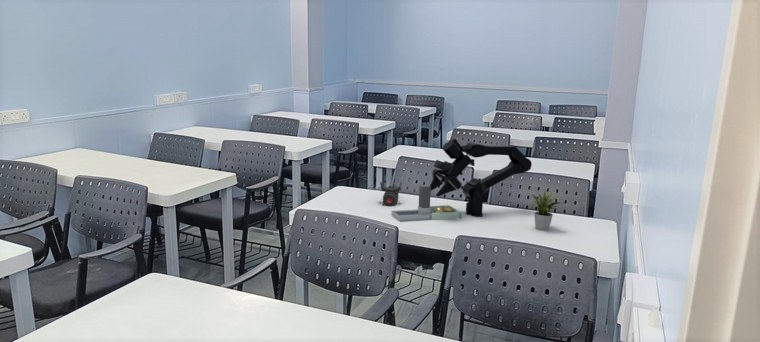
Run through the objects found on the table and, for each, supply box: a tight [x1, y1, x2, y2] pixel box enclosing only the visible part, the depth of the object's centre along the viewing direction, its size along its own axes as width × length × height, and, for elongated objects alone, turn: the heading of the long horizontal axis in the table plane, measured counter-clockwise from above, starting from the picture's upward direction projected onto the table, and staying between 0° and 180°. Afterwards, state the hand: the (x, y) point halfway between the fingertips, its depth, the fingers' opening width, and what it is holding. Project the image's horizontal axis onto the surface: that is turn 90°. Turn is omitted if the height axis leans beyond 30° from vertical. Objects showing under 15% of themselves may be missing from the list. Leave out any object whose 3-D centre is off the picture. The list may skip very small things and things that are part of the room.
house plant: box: [527, 188, 563, 231], centre depth 213 cm, size 14×14×16 cm
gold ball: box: [443, 205, 453, 212], centre depth 229 cm, size 4×4×4 cm
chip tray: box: [430, 204, 462, 221], centre depth 228 cm, size 13×12×3 cm
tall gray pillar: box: [417, 184, 432, 214], centre depth 225 cm, size 4×4×13 cm
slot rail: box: [390, 208, 458, 223], centre depth 226 cm, size 27×12×2 cm, turn 108°
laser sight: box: [379, 181, 403, 207], centre depth 251 cm, size 10×22×10 cm, turn 174°
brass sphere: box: [434, 207, 444, 213], centre depth 226 cm, size 4×4×4 cm
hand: (432, 193), depth 226 cm, fingers open, 9 cm apart
